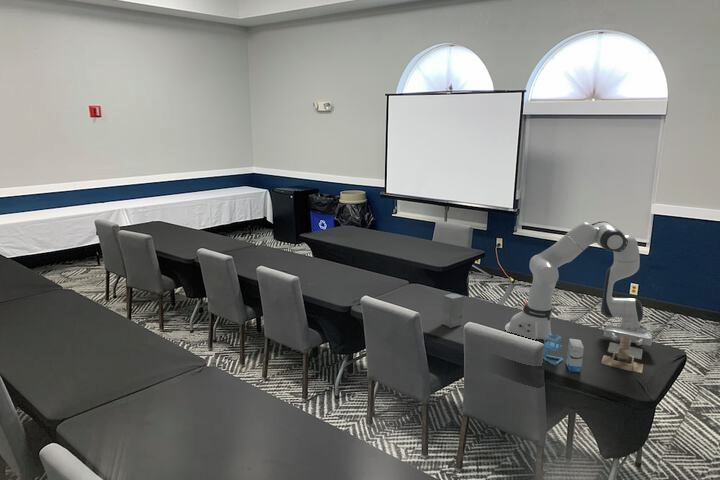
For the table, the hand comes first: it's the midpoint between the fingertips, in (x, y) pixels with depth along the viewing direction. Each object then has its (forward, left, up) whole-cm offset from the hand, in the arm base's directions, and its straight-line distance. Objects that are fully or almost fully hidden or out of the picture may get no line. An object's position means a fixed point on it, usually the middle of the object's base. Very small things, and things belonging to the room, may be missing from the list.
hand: (626, 341), depth 239 cm
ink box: (-18, -25, -7) cm, 32 cm away
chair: (-28, -23, -7) cm, 37 cm away
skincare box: (-80, -10, -7) cm, 81 cm away
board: (0, +5, -7) cm, 8 cm away
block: (0, -10, -7) cm, 13 cm away
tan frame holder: (0, -10, -7) cm, 13 cm away
